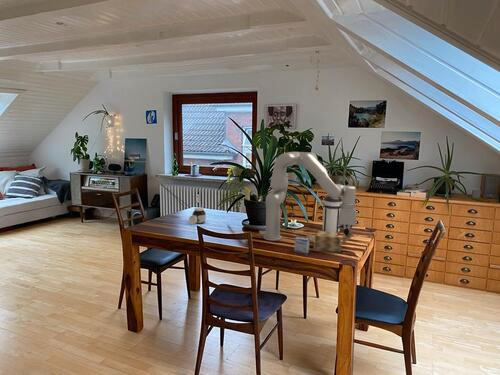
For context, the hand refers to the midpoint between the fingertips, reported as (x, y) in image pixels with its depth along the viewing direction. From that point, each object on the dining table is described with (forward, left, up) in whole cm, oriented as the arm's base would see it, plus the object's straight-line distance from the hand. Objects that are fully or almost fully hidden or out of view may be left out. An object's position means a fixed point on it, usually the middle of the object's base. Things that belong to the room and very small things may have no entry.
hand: (346, 235), depth 218 cm
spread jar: (-108, +30, -9) cm, 112 cm away
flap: (-2, 0, -4) cm, 5 cm away
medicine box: (-26, -13, -9) cm, 30 cm away
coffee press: (-7, +33, -9) cm, 35 cm away
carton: (-13, 0, -9) cm, 16 cm away
